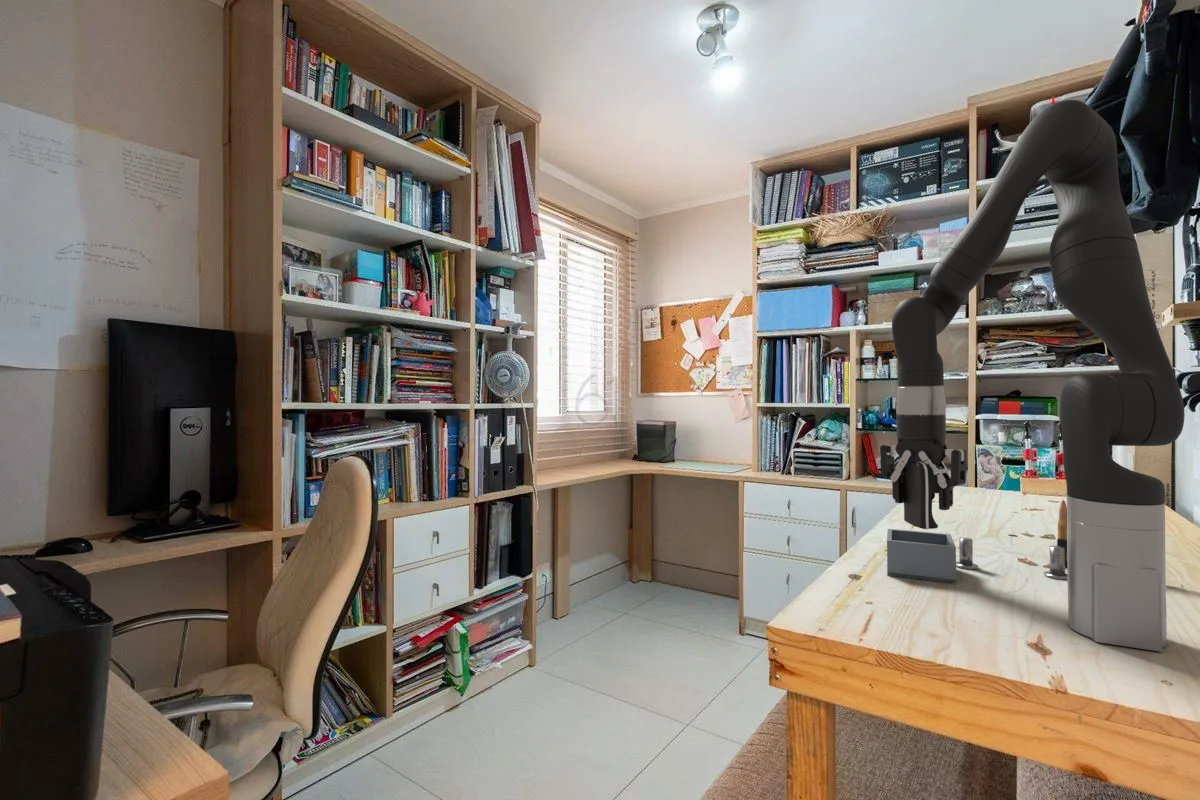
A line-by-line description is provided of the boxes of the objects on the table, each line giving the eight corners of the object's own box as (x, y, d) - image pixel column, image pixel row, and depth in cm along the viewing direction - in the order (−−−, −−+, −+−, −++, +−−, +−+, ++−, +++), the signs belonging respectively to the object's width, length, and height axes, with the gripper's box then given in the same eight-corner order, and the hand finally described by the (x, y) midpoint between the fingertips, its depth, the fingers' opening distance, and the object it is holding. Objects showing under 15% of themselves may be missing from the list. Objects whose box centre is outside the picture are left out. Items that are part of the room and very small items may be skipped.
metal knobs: (1074, 581, 92) (1073, 551, 92) (955, 567, 100) (955, 539, 100) (1068, 575, 95) (1067, 546, 95) (953, 562, 103) (953, 535, 103)
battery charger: (945, 530, 94) (944, 463, 94) (922, 530, 94) (921, 463, 94) (924, 521, 101) (923, 458, 101) (902, 521, 101) (901, 459, 101)
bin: (956, 584, 91) (955, 547, 91) (887, 575, 96) (887, 540, 96) (950, 567, 100) (950, 534, 100) (887, 560, 104) (887, 528, 104)
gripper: (976, 412, 94) (977, 510, 94) (893, 411, 106) (894, 498, 106) (952, 413, 90) (953, 515, 90) (869, 412, 102) (870, 502, 102)
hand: (921, 505), depth 98 cm, fingers closed on battery charger, 7 cm apart
